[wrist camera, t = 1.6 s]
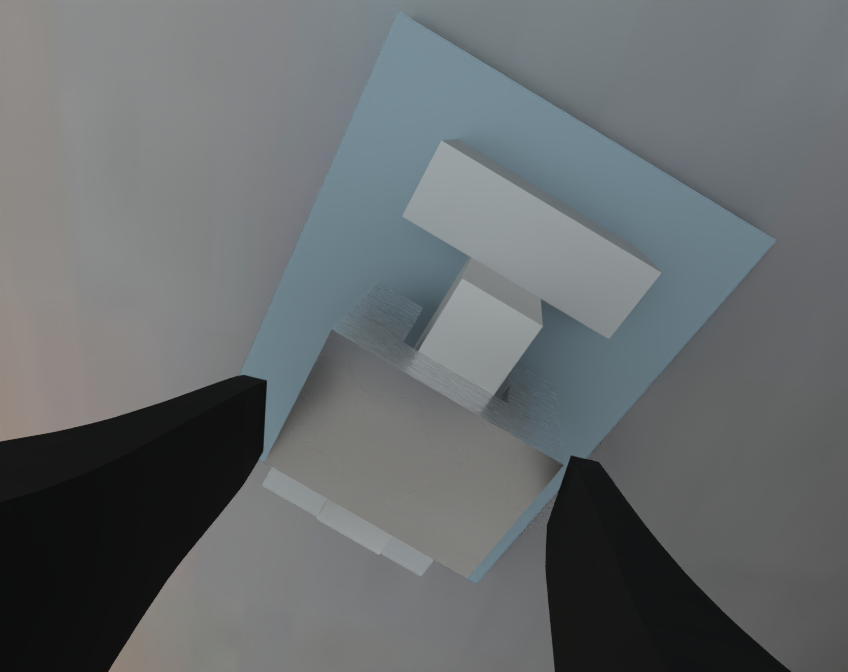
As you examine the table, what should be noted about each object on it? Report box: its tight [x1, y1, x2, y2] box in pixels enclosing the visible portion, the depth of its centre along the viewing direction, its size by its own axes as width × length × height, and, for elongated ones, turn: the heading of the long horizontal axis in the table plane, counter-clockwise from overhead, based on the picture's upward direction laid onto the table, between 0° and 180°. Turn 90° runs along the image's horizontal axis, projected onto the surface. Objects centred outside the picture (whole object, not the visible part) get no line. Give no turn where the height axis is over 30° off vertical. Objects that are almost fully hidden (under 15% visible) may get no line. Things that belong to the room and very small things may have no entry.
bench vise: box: [239, 11, 777, 584], centre depth 15 cm, size 12×16×6 cm
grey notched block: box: [264, 282, 564, 578], centre depth 13 cm, size 6×4×4 cm
